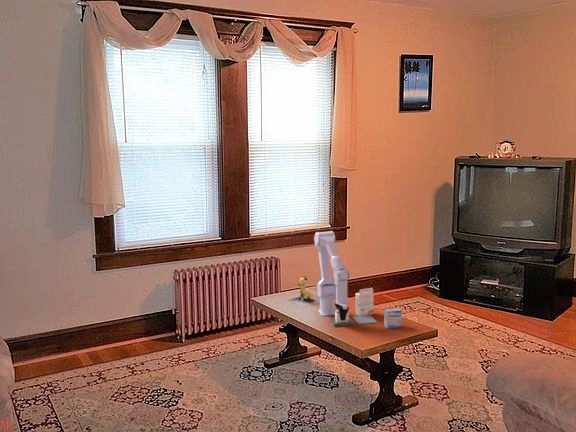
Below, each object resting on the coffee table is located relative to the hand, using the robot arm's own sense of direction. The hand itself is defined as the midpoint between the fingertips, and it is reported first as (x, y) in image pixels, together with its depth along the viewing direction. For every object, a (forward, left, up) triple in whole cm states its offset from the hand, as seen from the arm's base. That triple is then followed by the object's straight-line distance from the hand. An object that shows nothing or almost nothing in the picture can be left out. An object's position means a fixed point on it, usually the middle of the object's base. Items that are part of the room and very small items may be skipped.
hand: (341, 318), depth 286 cm
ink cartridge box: (-11, +15, -3) cm, 19 cm away
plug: (0, 0, -2) cm, 2 cm away
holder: (0, 0, -2) cm, 2 cm away
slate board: (-2, +13, -2) cm, 13 cm away
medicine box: (+10, +24, -3) cm, 26 cm away
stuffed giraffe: (-42, -9, -3) cm, 43 cm away
